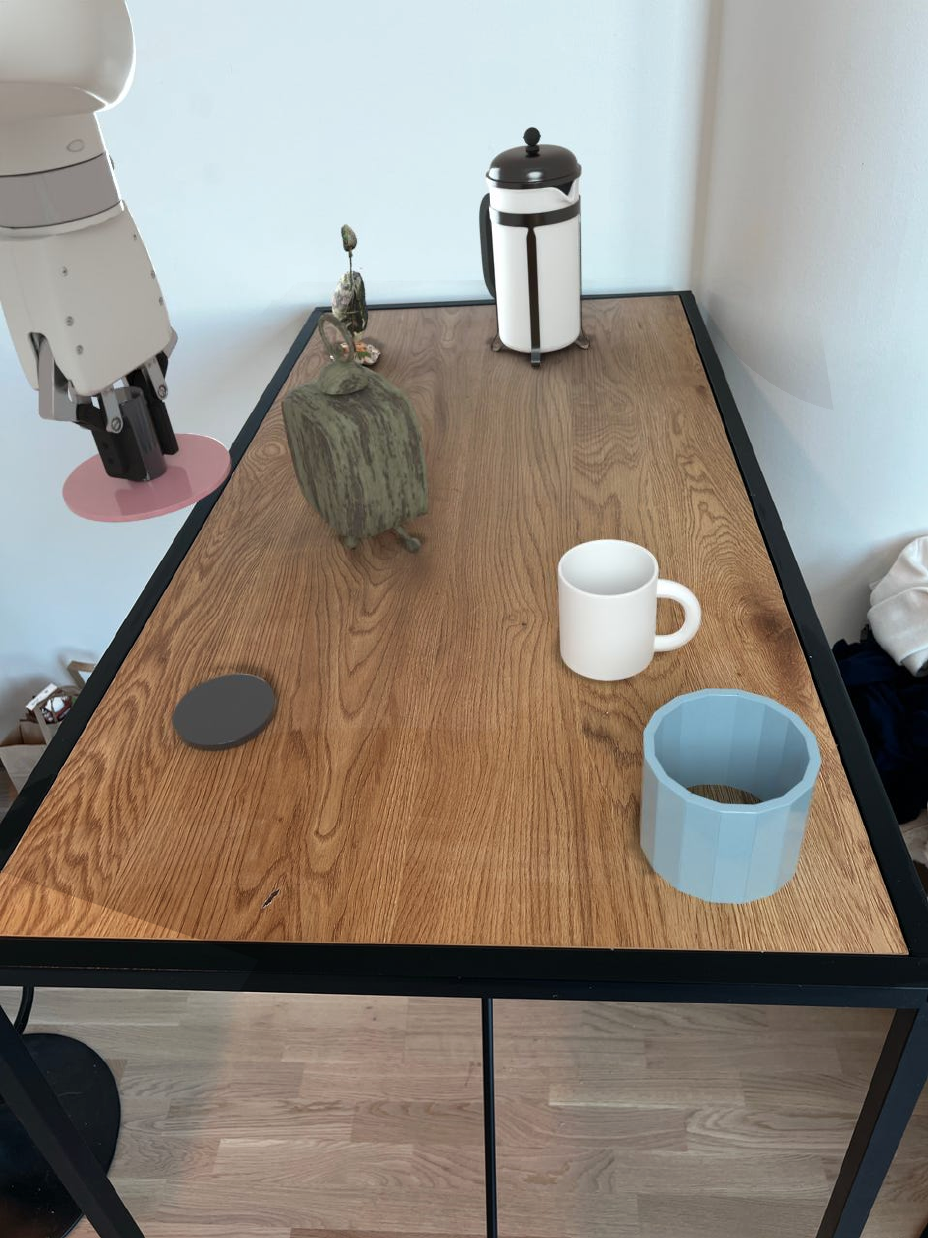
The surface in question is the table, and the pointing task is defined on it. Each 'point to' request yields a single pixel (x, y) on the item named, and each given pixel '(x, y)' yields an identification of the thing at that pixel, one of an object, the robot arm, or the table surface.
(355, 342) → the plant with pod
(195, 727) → the coaster
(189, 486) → the lid
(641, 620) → the mug
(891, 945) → the table surface
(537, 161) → the coffee press
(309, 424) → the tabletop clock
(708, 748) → the hollow cylinder
